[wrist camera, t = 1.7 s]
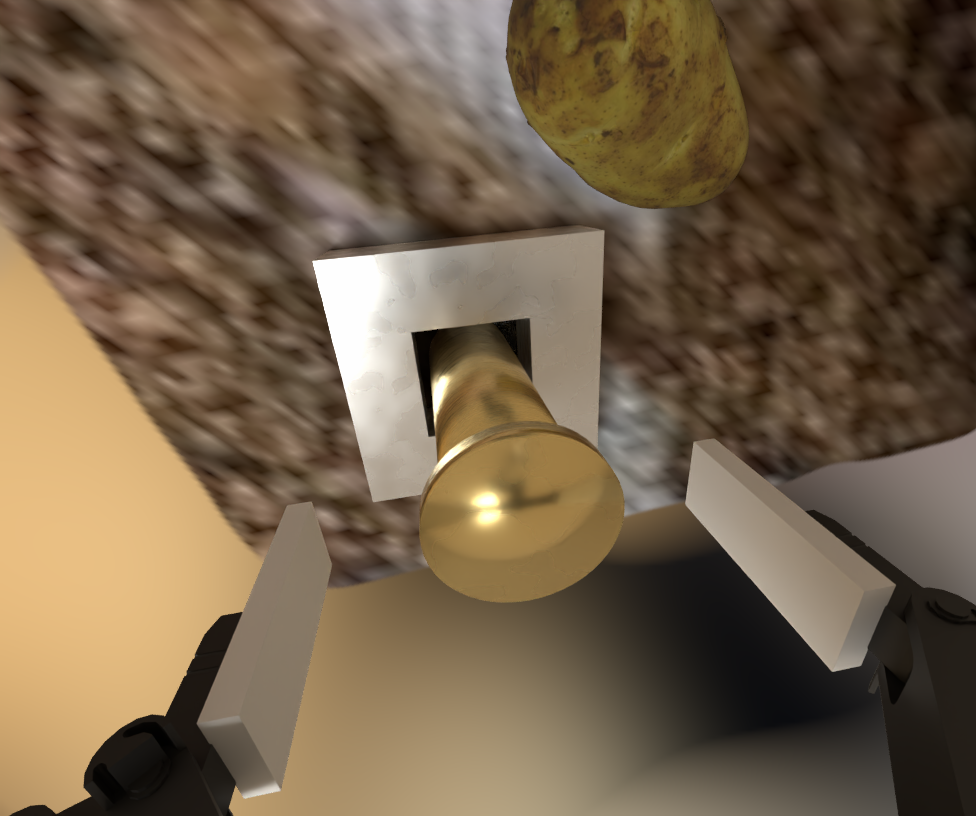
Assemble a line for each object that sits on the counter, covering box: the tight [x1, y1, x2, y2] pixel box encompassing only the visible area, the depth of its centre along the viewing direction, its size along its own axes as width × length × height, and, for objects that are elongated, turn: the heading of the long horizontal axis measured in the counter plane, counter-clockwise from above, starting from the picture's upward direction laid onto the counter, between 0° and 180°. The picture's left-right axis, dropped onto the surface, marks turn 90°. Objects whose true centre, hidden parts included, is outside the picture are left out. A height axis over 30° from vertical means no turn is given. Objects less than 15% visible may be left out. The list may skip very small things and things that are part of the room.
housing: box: [313, 225, 604, 502], centre depth 26 cm, size 14×14×4 cm
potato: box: [506, 0, 749, 209], centre depth 20 cm, size 8×13×8 cm, turn 41°
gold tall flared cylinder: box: [419, 323, 624, 602], centre depth 21 cm, size 6×6×16 cm
